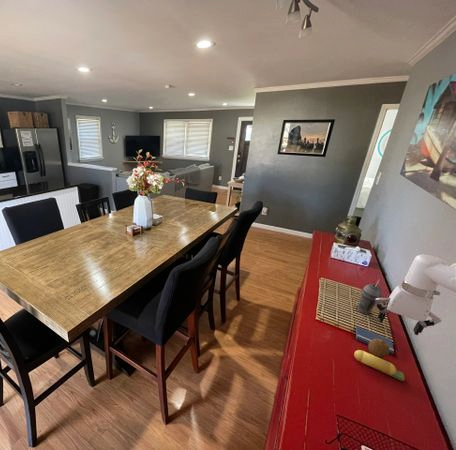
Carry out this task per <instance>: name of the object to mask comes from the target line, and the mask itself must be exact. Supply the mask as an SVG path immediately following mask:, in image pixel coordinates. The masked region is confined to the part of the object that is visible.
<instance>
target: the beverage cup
mask: <svg viewBox="0 0 456 450" xmlns="http://www.w3.org/2000/svg"><path fill="white" fill-rule="evenodd" d="M380 281H381V279H380V278H378V279H377V282H376V284H371V283H369V284H367V285H365V286H364V287H363V288H362V293H361V296H360V300H359V303H358V305H357V310H358V312H360V313H361V314H365V315H368V314H370V313H371V311H372V310H373V308H374V307H375V306H376V302H375V298H383V290H382V289H381V287H380V286H378V285H379V283H380Z"/></svg>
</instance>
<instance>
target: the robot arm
mask: <svg viewBox="0 0 456 450" xmlns="http://www.w3.org/2000/svg"><path fill="white" fill-rule="evenodd" d="M438 285H440V286H442V287H444V288H446V289H447V290H450V291H452V292H455V293H456V262H454V263H452V264H451V265H449V264H448V262H447V261H446V260H445V259H443V258H440V257H438V256H435V255H431V254H425V253H424V254H422V253H421V254H417V255H416V256H415V257H414V259H413V261H412V263H411V265H410V267H409V269H408V270H407V273H406V275H405V277H404V280H403V281H402V283H401V284H398V285H396V287H395V288H394V289H393V290H392V292H391V293H390V295H389V297H381V298H375V302H376V304H375V306H376V307H377V309H378V310H379V313H378V314H377V319H378V321H379V323H383V322H384V319H385V317H386V316H387V313H394V314H397V315H399V316H401V317H406V318H409V319H411V320H413V321H414V320H415V321H417V322H416V323H415V325H414V327H413V334H414V335H415V336H418V335H419V334H422V332H423V331H424V329H425V328H428V327H432V326H435V325H437V324H440V323H442V319H441V318H440V317H439V316H437V315H436V314H434V313H433V311H431V309H432V306H433V302H434V296H440V295H441V292H440V291H438V290H436V289H437V288H438ZM382 303H383V304H384V303H385V305H382ZM428 317H429V318H431V319H427V318H428Z"/></svg>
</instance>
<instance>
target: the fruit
mask: <svg viewBox="0 0 456 450" xmlns="http://www.w3.org/2000/svg"><path fill="white" fill-rule="evenodd" d="M367 348H368V349H367V350H368V353H369V354H371V355H374V356H376V357H378V358H381V359H384V358H386V357H387V356H388V355H390V353H389V351H390V348H389V345H388V344H387V343H386V342H385V341H383V340H381V339H373V340H371V341H370V342H369V344H367Z"/></svg>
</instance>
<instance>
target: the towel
mask: <svg viewBox="0 0 456 450" xmlns="http://www.w3.org/2000/svg"><path fill="white" fill-rule="evenodd" d="M355 327H356V328H355V329H356V330H355V339H356V340H357V341H359V342H362V343H364V344H366V345H368V344H369V342H370V341H371V340H373V339H381V340H383V341H385V342H386V343H387V344H388V345H389V348H390V351H389V355H391V356H392V355H394V354H395V352H394V351H395V350H394V346H393V340H392V339H390V338H387V337H384V336H383V335H380V334H377V333H375V332H373V331H370V330H367V329H365V328H362V327H359V326H355Z"/></svg>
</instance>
